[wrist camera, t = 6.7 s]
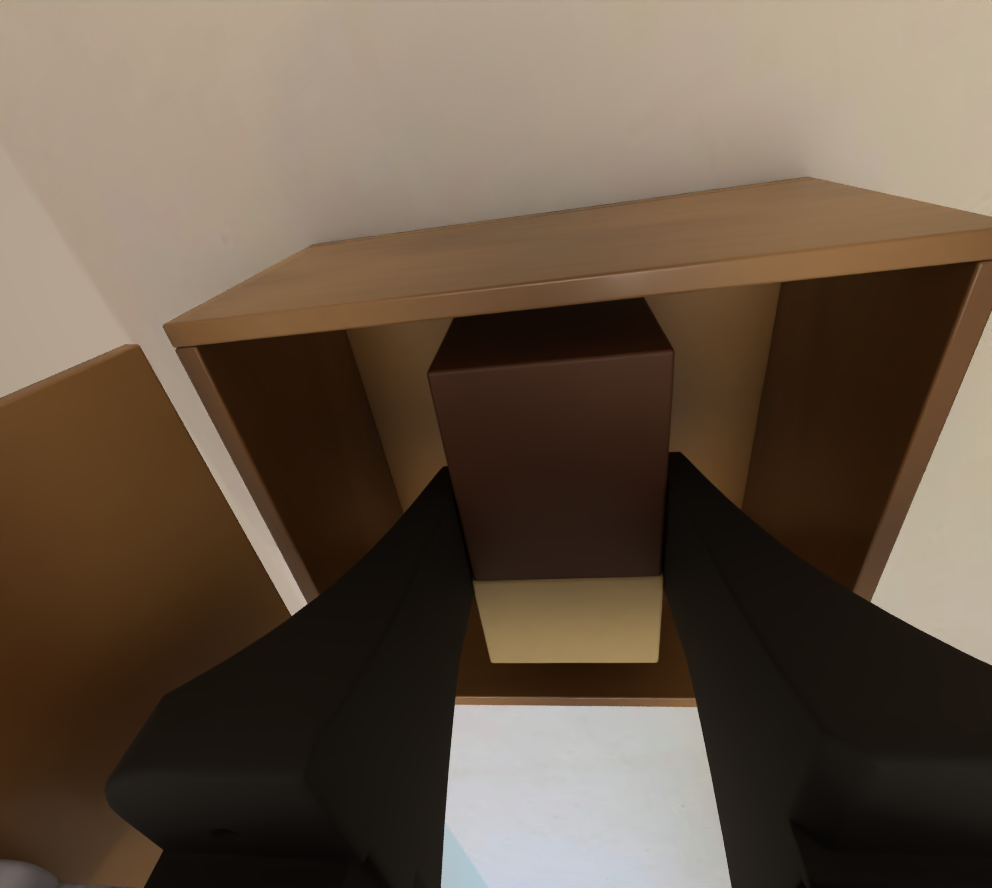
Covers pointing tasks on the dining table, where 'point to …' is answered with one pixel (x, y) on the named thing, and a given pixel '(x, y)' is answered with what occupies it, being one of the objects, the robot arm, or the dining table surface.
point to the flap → (105, 602)
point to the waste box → (696, 382)
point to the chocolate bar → (560, 475)
